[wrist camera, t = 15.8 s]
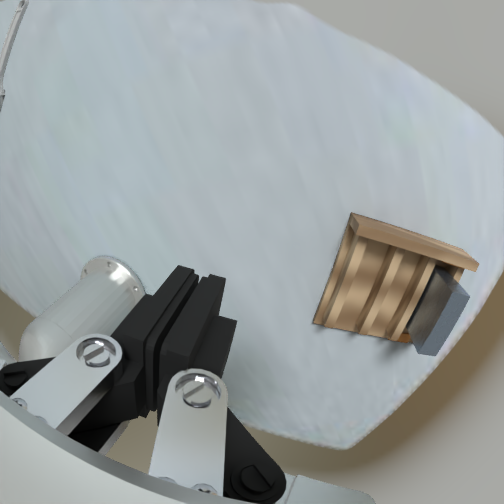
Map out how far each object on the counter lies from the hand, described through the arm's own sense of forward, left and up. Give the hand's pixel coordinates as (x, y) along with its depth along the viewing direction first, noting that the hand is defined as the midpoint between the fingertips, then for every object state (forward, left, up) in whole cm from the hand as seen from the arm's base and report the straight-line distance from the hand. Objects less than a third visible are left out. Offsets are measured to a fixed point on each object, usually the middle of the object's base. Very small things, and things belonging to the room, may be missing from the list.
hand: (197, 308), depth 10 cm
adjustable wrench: (+17, +53, -28) cm, 62 cm away
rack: (-9, -20, -27) cm, 35 cm away
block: (-8, -25, -26) cm, 37 cm away
